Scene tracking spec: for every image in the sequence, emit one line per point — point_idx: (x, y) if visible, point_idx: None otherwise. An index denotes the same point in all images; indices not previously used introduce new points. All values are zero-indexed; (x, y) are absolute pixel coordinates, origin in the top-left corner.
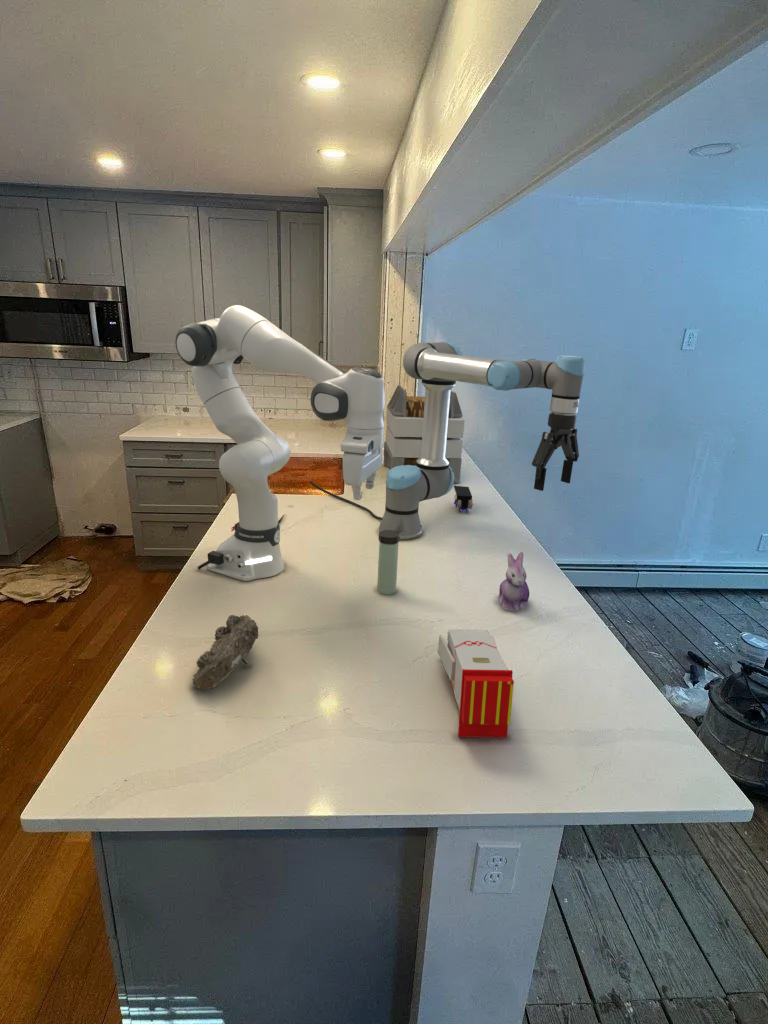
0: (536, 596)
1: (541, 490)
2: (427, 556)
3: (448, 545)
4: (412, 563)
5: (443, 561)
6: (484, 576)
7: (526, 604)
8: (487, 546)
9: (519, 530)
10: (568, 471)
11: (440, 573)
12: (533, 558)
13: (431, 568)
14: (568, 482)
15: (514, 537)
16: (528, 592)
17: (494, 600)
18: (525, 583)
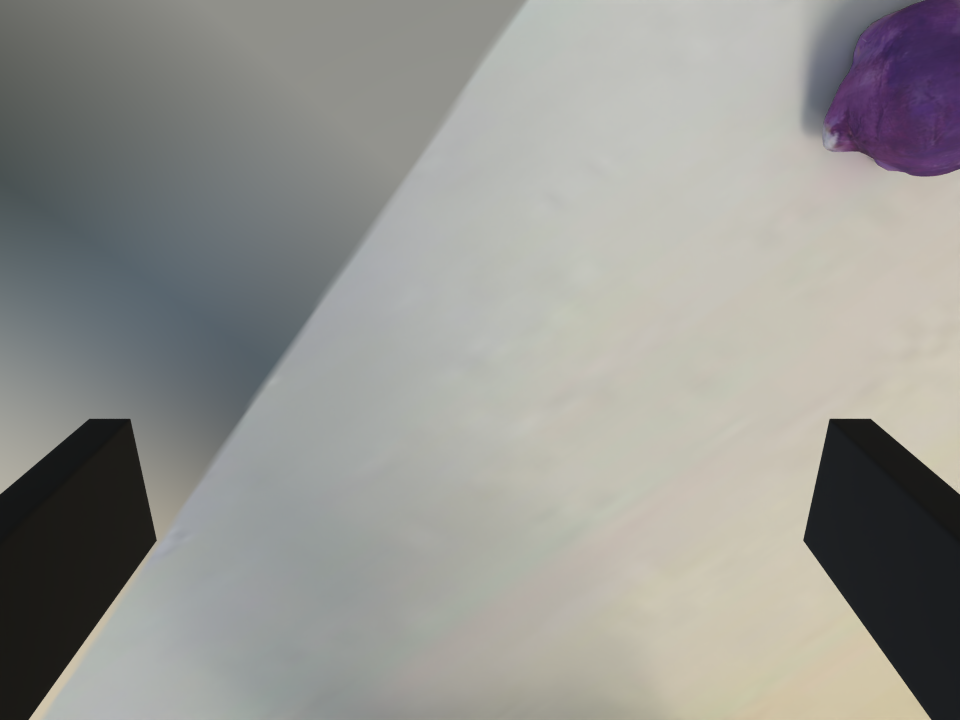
0: (744, 50)
1: (874, 427)
2: (751, 610)
3: (582, 635)
4: None
5: (742, 547)
6: (739, 352)
7: (894, 12)
8: (441, 543)
9: (140, 576)
10: (18, 574)
11: None
12: (358, 339)
13: None
14: (124, 427)
15: (234, 539)
16: (940, 2)
17: None
18: (952, 36)
